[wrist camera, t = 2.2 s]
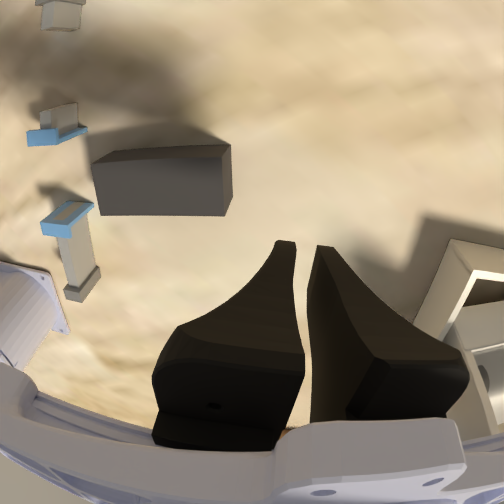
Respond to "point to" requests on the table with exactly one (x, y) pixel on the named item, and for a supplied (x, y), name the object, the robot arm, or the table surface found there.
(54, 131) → the blue capped pillar
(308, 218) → the table surface
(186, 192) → the charcoal brick
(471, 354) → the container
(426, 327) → the container tray
